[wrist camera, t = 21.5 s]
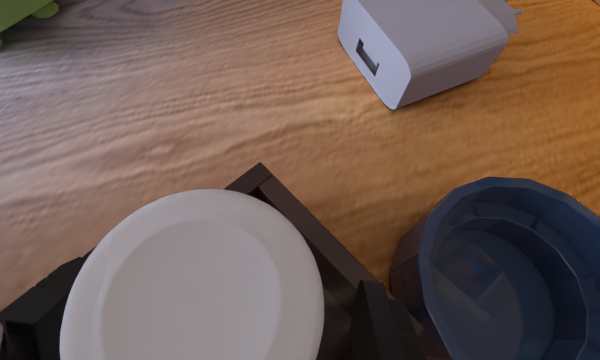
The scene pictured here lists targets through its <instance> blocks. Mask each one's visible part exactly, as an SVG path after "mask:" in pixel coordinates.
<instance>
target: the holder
mask: <svg viewBox="0 0 600 360" xmlns="http://www.w3.org/2000/svg"><path fill="white" fill-rule="evenodd" d="M223 190H230V191H236V192H239V193H243V194H246V195H249V196H252V197H254V198H256V199H259V200H261V201H263V202H265V203H267V204H269V205H270V206H272V207H273V208H275V209H276V210H278V211H279V212H280V213H281V214H282V215H283V216H284V217H286V218H287V219H288V220H289V221H290V222H291V223H292V224H293V225H294V226H295V227H296V229H297V230H298V231H299V232H300V234H301V235H302V236H303V238H304V239H305V241H306V243H307V245H308V246H309V248H310V250H311V252H312V254H313V256H314V258H315V261H316V264H317V267H318V270H319V273H320V277H321V282H322V287H323V296H324V326H323V333H322V338H321V342H320V346H319V350H318V354H317V357H316V360H354V358H353V351H352V343H351V336H350V324H351V316H352V311H353V307H354V302H355V297H356V293H357V288H358V284H359V281H360V280H367V281H375V282H379V281H378V280H377V279H376V278H375V277H374V276H373V275H372V274H371V273H370V272H369V271H368V270H367V269H366V268H365V267H364V266H363V265H362V264H361V263H360V262H359V261H358V260H357V259H356V258H355V257H354V256H353V255H352V254H351V253H350V252H349V251H348V250H347V249H346V248H345V247H344V246H343V245H342V244H341V243H340V242H339V241H338V240H337V239H336V238H335V237H334V236H333V235H332V234H331V233H330V232H329V231H328V230H327V229H326V228H325V227H324V226H323V225H322V224H321V223H320V222H319V221H318V220H317V219H316V218H315V217H314V216H313V215H312V214H311V213H310V212H309V211H308V210H307V209H306V207H305V206H304V205H303V204H302V203H301V202H300V201H299V200H298V199H297V198H296V197H295V196H294V195H293V194H292V193H291V192H290V191H289V190H288V189H287V188H286V187H285V186H284V185H283V184H282V183H281V182H280V181H279V180H278V179H277V178H276V177H275V176H274V175H272V173H271V172H270V171H269V170H268V169H267V168H266V167H265V166H264V165H263V164H262V163H260V162H259V163H258V164H257V165H255V166H254V167H253V168H251V169H250V170H249V171H247V172H246V173H245V174H243V175H242V176H241V177H239V178H238V179H237V180H235V181H234V182H233V183H231V184H230V185H229V186H227V187H226V188H225V189H223ZM385 289H386V288H385ZM386 292H387V296H388V299H393V300H397V299H396V298H395V297H394V296H393V295H392V294H391V293H390V292H389V291H388V290H387V289H386ZM409 315H410V317H411V320H412V322H413V325H414V326H413V327H414V328H415V330H416V333H417V335H418V336H419V335H420V334H421V332H422V331H423V330H424V327H423V326H422V325H421V324H420V323H419V322H418V321H417V320H416V319H415V318H414V317H413V316H412V315H411V314H410V313H409Z"/></svg>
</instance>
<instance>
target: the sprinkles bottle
mask: <svg viewBox="0 0 600 360" xmlns="http://www.w3.org/2000/svg"><path fill="white" fill-rule="evenodd" d="M323 326H324V296H323V287H322V282H321V277H320V273H319V270H318V267H317V264H316V261H315V258H314V256H313V254H312V252H311V250H310V248H309V246H308V245H307V243H306V241H305V239H304V238H303V236H302V235H301V234H300V232H299V231H298V230H297V229H296V227H295V226H294V225H293V224H292V223H291V222H290V221H289V220H288V219H287V218H286V217H284V216H283V215H282V214H281V213H280V212H279V211H278V210H276V209H275V208H273V207H272V206H270V205H269V204H267V203H265V202H263V201H261V200H259V199H256V198H254V197H252V196H249V195H246V194H243V193H239V192H236V191H230V190H223V189H198V190H189V191H183V192H179V193H176V194H172V195H169V196H166V197H163V198H161V199H158V200H156V201H154V202H152V203H150V204H148V205H146V206H144V207H142V208H140V209H138V210H137V211H135V212H134V213H132V214H131V215H129V216H128V217H126V218H125V219H124V220H123V221H121V222H120V223H119V224H118V225H117V226H116V227H114V228H113V229H112V230H111V231H110V232H109V233H108V234H107V235H106V236H105V237H104V238H103V239H102V240H101V241H100V243H99V244H98V245H97V247H96V248H95V249H94V250H93V251H92V253H91V254H90V255H89V257H88V258H87V260H86V261H85V263H84V264H83V266H82V268H81V270H80V272H79V274H78V276H77V278H76V279H75V282H74V284H73V286H72V289H71V291H70V294H69V296H68V300H67V303H66V306H65V310H64V315H63V320H62V325H61V331H60V349H59V351H60V360H316V357H317V354H318V350H319V346H320V342H321V338H322V333H323Z"/></svg>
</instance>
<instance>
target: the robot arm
mask: <svg viewBox="0 0 600 360" xmlns="http://www.w3.org/2000/svg"><path fill="white" fill-rule="evenodd" d="M96 247H97V246H96ZM96 247H95V248H96ZM95 248H93V249H92V250H91V251H90V252H88V253H87V254H86V255H85V256H83V257H78V258H76V259H74V260H71V261H69V262H67V263H65V264H63V265H61V266H60V267H58V268H57V269H56V270H54V271H53V272H52V273H50V274H49V275H48V277H47V278H44V279H43V280H41V281H40V282H39V283H37V284H36V286H35V287H32V288H31V289H29V290H28V291H27V292H26V293H24V294H23V295H22V296H20V297H19V298H18V299H16V300H15V301H14V302H13V303H11V304H10V305H9V306H7V307H6V308H5V309H3V310H2V311H1V312H0V360H60V351H59V349H60V331H61V325H62V320H63V315H64V310H65V306H66V303H67V300H68V296H69V294H70V291H71V289H72V286H73V284H74V282H75V279H76V278H77V276H78V274H79V272H80V270H81V268H82V266H83V264H84V263H85V261H86V260H87V258H88V257H89V255H90V254H91V253H92V251H93V250H94V249H95ZM413 326H414V325H413V322H412V320H411V317H410V315H409V312H408V311H407V310H406V309H405V308H404V306H403V305H402V304H401V303H400V302H399V301H398V300H393V299H388V296H387V292H386V289H385V286H384V284H383V283H382V282H375V281H367V280H360V281H359V284H358V288H357V293H356V297H355V302H354V307H353V311H352V316H351V324H350V336H351V343H352V351H353V358H354V360H427V358H426V356H425V353H424V350H423V348H422V345H421V343H420V340H419V339H418V335H417V333H416V330H415V328H414V327H413Z"/></svg>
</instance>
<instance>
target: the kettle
mask: <svg viewBox="0 0 600 360" xmlns="http://www.w3.org/2000/svg"><path fill="white" fill-rule="evenodd" d="M58 10H59V6H58V4H56V3H55V2H53V0H0V32H2V31H3V30H5V29H7V28H8V27H10V26H12V25H13V24H15V23H17V22H18V21H20V20H22V19H23V18H25V17H27V16H28V15H30V14H31V15H32V16H34V17H36V18H48V17H51V16H53V15H54V14H56V13H57V12H58ZM1 45H2V40H1V38H0V47H1Z"/></svg>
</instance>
